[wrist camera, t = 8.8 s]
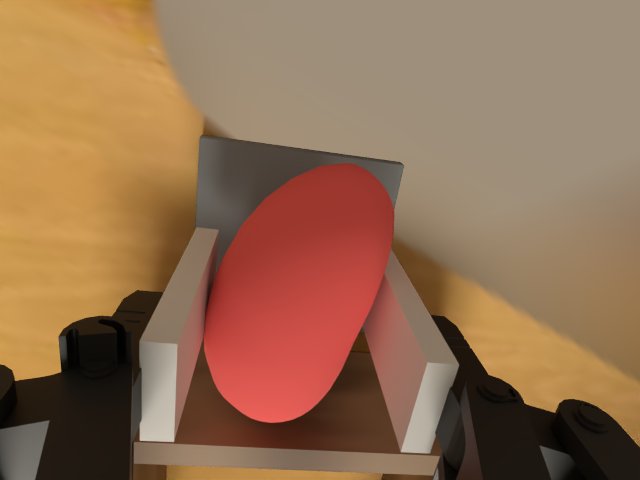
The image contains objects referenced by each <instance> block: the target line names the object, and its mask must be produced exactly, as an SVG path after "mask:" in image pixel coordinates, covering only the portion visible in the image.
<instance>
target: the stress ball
mask: <svg viewBox="0 0 640 480" xmlns="http://www.w3.org/2000/svg"><path fill="white" fill-rule="evenodd" d="M393 233H394V208H393V204H392V201H391V198H390V196H389V194H388V192H387V191H386V189H385V188H384V186H383V185H382V183H381V182H380V181H379V180H378V179H377V178H376V177H375V176H374V175H373V174H371V173H370V172H369V171H367V170H366V169H364V168H362V167H360V166H358V165H355V164H351V163H341V164H332V165H324V166H319V167H317V168H315V169H312V170H310V171H308V172H305V173H303V174H301V175H299V176H296V177H294V178H292V179H291V180H289V181H288V182H287V183H285V184H284V185H283V186H281V187H280V188H279V189H277V190H276V191H275V192H273V193H272V194H270V195H269V196H268V197H266V198H265V199H264V201H263V202H262V203H261V204H260V205H259V206H258V207H257V208H256V210H255V211H254V212H253V213H252V214H251V215H250V216H249V217H248V219H247V220H246V221H245V222H244V223H243V224H242V226H241V227H240V229H239V231H238V233H237V234H236V236H235V238H234V239H233V241H232V243H231V245H230V246H229V248H228V250H227V252H226V253H225V255H224V257H223V259H222V262H221V264H220V266H219V269H218V271H217V274H216V277H215V280H214V283H213V286H212V289H211V293H210V297H209V301H208V305H207V309H206V314H205V334H204V351H205V355H206V359H207V363H208V366H209V369H210V372H211V375H212V378H213V381H214V383H215V385H216V387H217V389H218V391H219V392H220V393H221V395H222V396H223V397H224V398H225V399H226V400H227V401H228V402H229V403H230V404H231V405H233V406H234V407H235V408H236V409H238V410H239V411H240V412H241V413H243V414H244V415H246V416H248V417H250V418H252V419H255V420H258V421H261V422H269V423H277V422H285V421H289V420H293V419H295V418H297V417H300V416H302V415H303V414H305V413H306V412H308V411H310V410H311V409H312V408H313V407H314V406H315V405H316V404H317V403H318V402H319V401H320V400H321V399H322V398H323V397H324V396H325V395H326V394H327V392H328V391H329V390H330V389H331V387H332V385H333V383H334V382H335V380H336V378H337V377H338V375H339V373H340V372H341V370H342V368H343V366H344V364H345V361H346V359H347V357H348V355H349V352H350V350H351V348H352V346H353V343H354V341H355V339H356V337H357V335H358V333H359V331H360V329H361V327H362V325H363V323H364V321H365V319H366V317H367V315H368V313H369V311H370V309H371V307H372V305H373V303H374V300H375V298H376V295H377V292H378V290H379V287H380V285H381V282H382V279H383V276H384V272H385V269H386V266H387V263H388V259H389V255H390V250H391V245H392V240H393Z"/></svg>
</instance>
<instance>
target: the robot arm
mask: <svg viewBox="0 0 640 480" xmlns="http://www.w3.org/2000/svg"><path fill="white" fill-rule="evenodd" d="M218 237H219V230H217V229H208V228H199V227H197V228H196V230H195V232H194V234H193V236H192V238H191V240H190V242H189V244H188V246H187V247H186V249H185V251H184V253H183V255H182V257H181V259H180V261H179V263H178V265H177V267H176V269H175V271H174V273H173V275H172V277H171V279H170V281H169V283H168V285H167V287H166V289H165V291H164V293H162V292H151V291H140V290H137V291H135V292H134V293H132V294H131V295H129V296H128V297H126V298H124V299H123V301H122V302H121V304H120V305H119V307H118V308H117V310H116V312H115V313H114V314H113V316H96V317H89V318H84V319H82V320H79V321H76V322H73V323H72V324H70V325H69V326H67V327H66V328H64V329H63V331H62V332H61V334H60V335H59V348H60V360H61V372H60V373H57V374H54V375H50V376H45V377H39V378H33V379H26V380H19V381H15V379H14V375H13V372H12V370H11V369H9V368H8V367H6V366H5V365H0V480H133V475H134V438H135V435H136V433H137V430H138V428H139V425H140V441H161V442H174V440H175V437H176V433H177V429H178V426H179V422H180V419H181V415H182V412H183V408H184V404H185V401H186V397H187V394H188V390H189V387H190V383H191V379H192V376H193V372H194V369H195V365H196V361H197V358H198V354H199V351H200V347H201V344H202V340H203V336H204V333H205V314H206V309H207V305H208V301H209V297H210V293H211V289H212V286H213V283H214V280H215V277H216V266H217V251H218ZM362 326H363V330H364V333H365V336H366V340H367V343H368V346H369V349H370V353H371V356H372V359H373V363H374V366H375V369H376V372H377V376H378V379H379V382H380V386H381V389H382V392H383V395H384V399H385V402H386V405H387V409H388V412H389V415H390V418H391V422H392V425H393V428H394V432H395V435H396V438H397V441H398V445H399V448H400V451H401V452H408V453H430V452H431V449H432V446H433V443H434V440H435V437H437V439H438V441H439V444H440V446H441V449H442V452H441V455H440V458H439V461H438V464H437V466H436V469H435V472H434V475H433V478H432V480H640V447H639V446H638V445H637V444H636V443H635V442H634V441H633V440H632V438H631V437H630V436H629V435H628V434H627V433H626V432H625V431H624V429H623V428H622V427H621V426H620V425H619V424H618V423H617V422H616V421H615V420H614V419H613V418H612V417H611V416H610V415H609V414H607V413H606V412H604V411H602V410H601V409H599V408H598V407H597V406H594V405H592V404H590V403H587V402H584V401H580V400H575V399H567V400H563V401H562V402H561V403H559V405H558V408H557V410H556V412H555V413H553V412H550V411H546V410H543V409H540V408H536V407H533V406H529V405H527V404H524V401H523V399H522V397H521V396H520V394H519V392H518V391H516V390H515V389H514V388H513V387H512V386H511V385H510V384H508V383H506V382H504V381H503V380H501V379H499V378H496V377H493V376H490V375H488V373H487V372H486V370H485V369H484V367H483V366H482V364H481V362H480V361H479V359H478V358H477V356H476V355H475V353H474V352H473V350H472V349H471V348H470V346H469V344H468V343H467V341H466V340H465V339H464V337H463V335H462V334H461V332H460V331H459V329H458V328H457V326H456V325H454V324H453V323H452V322H451V321H449V320H448V319H447V318H446V317H444V316H434V315H430V314H429V312H428V310H427V309H426V307H425V305H424V304H423V302H422V300H421V298H420V297H419V295H418V293H417V292H416V290H415V288H414V286H413V285H412V283H411V281H410V280H409V278H408V276H407V274H406V273H405V271H404V269H403V268H402V266H401V264H400V262H399V261H398V259H397V257H396V256H395V254H394V252H393V250H392V249H391V250H390V255H389V259H388V263H387V266H386V269H385V272H384V276H383V279H382V282H381V285H380V287H379V290H378V292H377V295H376V298H375V300H374V303H373V305H372V307H371V309H370V311H369V313H368V315H367V317H366V319H365V321H364V323H363V325H362Z"/></svg>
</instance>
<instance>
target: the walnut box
mask: <svg viewBox="0 0 640 480" xmlns="http://www.w3.org/2000/svg"><path fill="white" fill-rule="evenodd" d="M441 452H442V449H441V446H440V444H439V441H438V439H437V437H435V440H434V443H433V446H432V449H431V452H430V453H408V452H401V451H400V448H399V445H398V441H397V438H396V435H395V432H394V428H393V425H392V422H391V418H390V415H389V412H388V409H387V405H386V402H385V399H384V395H383V392H382V389H381V386H380V382H379V379H378V376H377V372H376V369H375V366H374V363H373V359H372V356H371V353H364V352H351V351H350V352H349V355H348V357H347V359H346V361H345V364H344V366H343V368H342V370H341V372H340V373H339V375H338V377H337V378H336V380H335V382H334V383H333V385H332V387H331V389H330V390H329V391H328V392H327V394H326V395H325V396H324V397H323V398H322V399H321V400H320V401H319V402H318V403H317V404H316V405H315V406H314V407H313V408H312V409H311V410H310V411H308V412H306V413H305V414H303V415H302V416H300V417H297V418H295V419H293V420H289V421H285V422H277V423H269V422H261V421H258V420H255V419H252V418H250V417H248V416H246V415H244V414H243V413H241V412H240V411H239V410H238V409H236V408H235V407H234V406H233V405H231V404H230V403H229V402H228V401H227V400H226V399H225V398H224V397H223V396H222V395H221V393H220V392H219V391H218V389H217V387H216V385H215V383H214V381H213V378H212V375H211V372H210V369H209V366H208V363H207V359H206V355H205V351H204V340H202V344H201V347H200V351H199V354H198V358H197V361H196V365H195V369H194V372H193V376H192V379H191V383H190V387H189V390H188V394H187V397H186V401H185V404H184V408H183V412H182V415H181V419H180V422H179V426H178V429H177V433H176V437H175V440H174V442H161V441H140V425H139V428H138V430H137V433H136V435H135V438H134V475H133V480H166V465H182V466H207V467H232V468H257V469H282V470H307V471H332V472H357V473H382V474H383V477H382V480H432V478H433V475H434V472H435V469H436V466H437V464H438V461H439V458H440V455H441Z"/></svg>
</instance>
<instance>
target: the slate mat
mask: <svg viewBox="0 0 640 480" xmlns="http://www.w3.org/2000/svg"><path fill="white" fill-rule="evenodd" d="M341 163H351V164H355V165H358V166H360V167H362V168H364V169H366V170H367V171H369V172H370V173H371V174H373V175H374V176H375V177H376V178H377V179H378V180H379V181H380V182H381V183H382V185H383V186H384V188H385V189H386V191H387V192H388V194H389V196H390V198H391V201H392V204H393V208H395V204H396V199H397V195H398V190H399V186H400V181H401V177H402V172H403V168H404V165H403V164H402V163H400V162H395V161H388V160H380V159H373V158H366V157H359V156H351V155H343V154H337V153H330V152H322V151H315V150H308V149H301V148H293V147H286V146H279V145H272V144H265V143H257V142H250V141H243V140H236V139H228V138H221V137H214V136H207V135H202V136H201V137H200V142H199V163H198V183H197V204H196V224H195V230H196V228H197V227H199V228H208V229H217V230H219V237H218V251H217V266H216V274H217V271H218V269H219V266H220V264H221V262H222V259H223V257H224V255H225V253H226V252H227V250H228V248H229V246H230V245H231V243H232V241H233V239H234V238H235V236H236V234H237V233H238V231H239V229H240V227H241V226H242V224H243V223H244V222H245V221H246V220H247V219H248V217H249V216H250V215H251V214H252V213H253V212H254V211H255V210H256V208H257V207H258V206H259V205H260V204H261V203H262V202H263V201H264V199H265V198H266V197H268V196H269V195H270V194H272V193H273V192H275V191H276V190H277V189H279V188H280V187H281V186H283V185H284V184H285V183H287V182H288V181H289V180H291V179H292V178H294V177H296V176H299V175H301V174H303V173H305V172H308V171H310V170H312V169H315V168H317V167H319V166H324V165H332V164H341ZM359 333H364V330H363V326H362V327H361V329H360V331H359Z"/></svg>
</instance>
